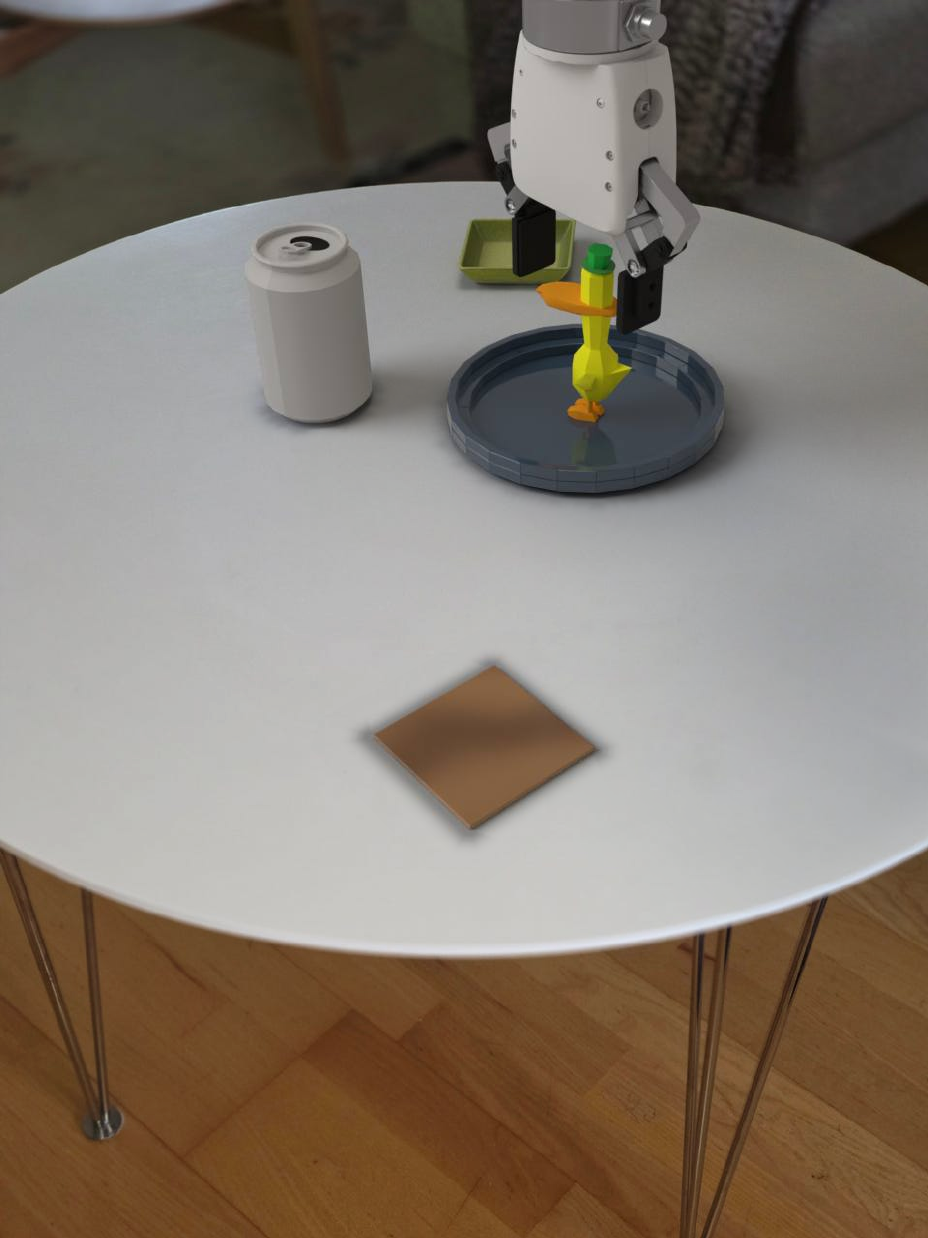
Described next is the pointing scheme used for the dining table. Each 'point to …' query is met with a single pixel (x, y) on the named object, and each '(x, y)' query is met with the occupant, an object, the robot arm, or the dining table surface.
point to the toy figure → (591, 330)
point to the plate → (575, 449)
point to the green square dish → (510, 253)
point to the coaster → (483, 745)
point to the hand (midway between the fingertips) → (584, 296)
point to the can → (309, 321)
